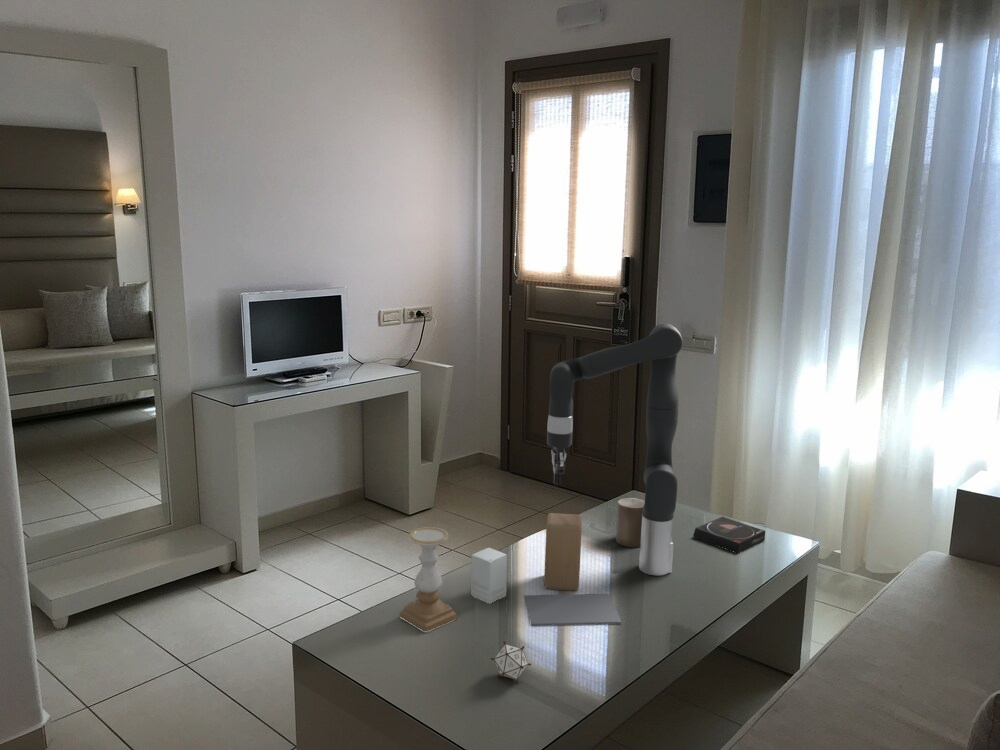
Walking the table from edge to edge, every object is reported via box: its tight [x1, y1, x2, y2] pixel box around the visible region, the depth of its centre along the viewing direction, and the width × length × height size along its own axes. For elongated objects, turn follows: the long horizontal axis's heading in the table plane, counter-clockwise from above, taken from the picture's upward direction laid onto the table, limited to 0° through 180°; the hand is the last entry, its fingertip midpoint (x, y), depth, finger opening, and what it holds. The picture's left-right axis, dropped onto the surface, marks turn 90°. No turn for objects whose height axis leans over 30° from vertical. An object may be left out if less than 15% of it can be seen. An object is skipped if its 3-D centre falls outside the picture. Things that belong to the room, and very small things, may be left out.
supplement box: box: [470, 547, 508, 605], centre depth 224 cm, size 7×7×13 cm
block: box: [543, 512, 583, 592], centre depth 232 cm, size 10×10×20 cm
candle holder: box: [399, 526, 457, 631], centre depth 210 cm, size 11×11×24 cm
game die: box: [490, 640, 532, 684], centre depth 186 cm, size 9×8×10 cm
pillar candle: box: [615, 497, 645, 548], centre depth 264 cm, size 10×10×15 cm
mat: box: [523, 592, 623, 627], centre depth 219 cm, size 24×16×1 cm, turn 95°
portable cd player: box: [692, 516, 766, 554], centre depth 269 cm, size 16×17×4 cm
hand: (557, 484), depth 243 cm, fingers closed
